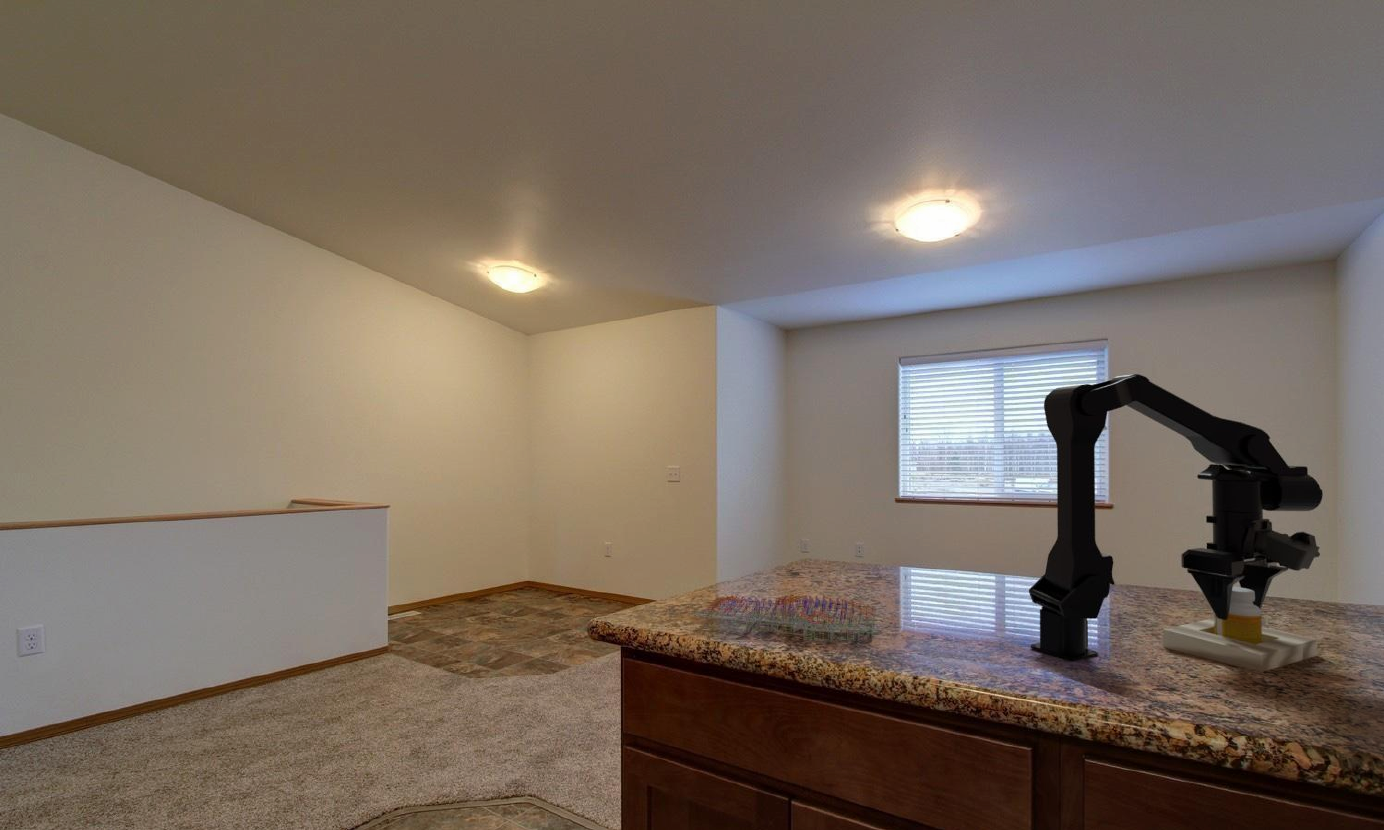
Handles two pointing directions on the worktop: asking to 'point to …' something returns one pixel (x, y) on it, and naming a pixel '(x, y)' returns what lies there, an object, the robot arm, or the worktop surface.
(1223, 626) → the supplement bottle
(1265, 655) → the bored board
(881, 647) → the worktop surface
